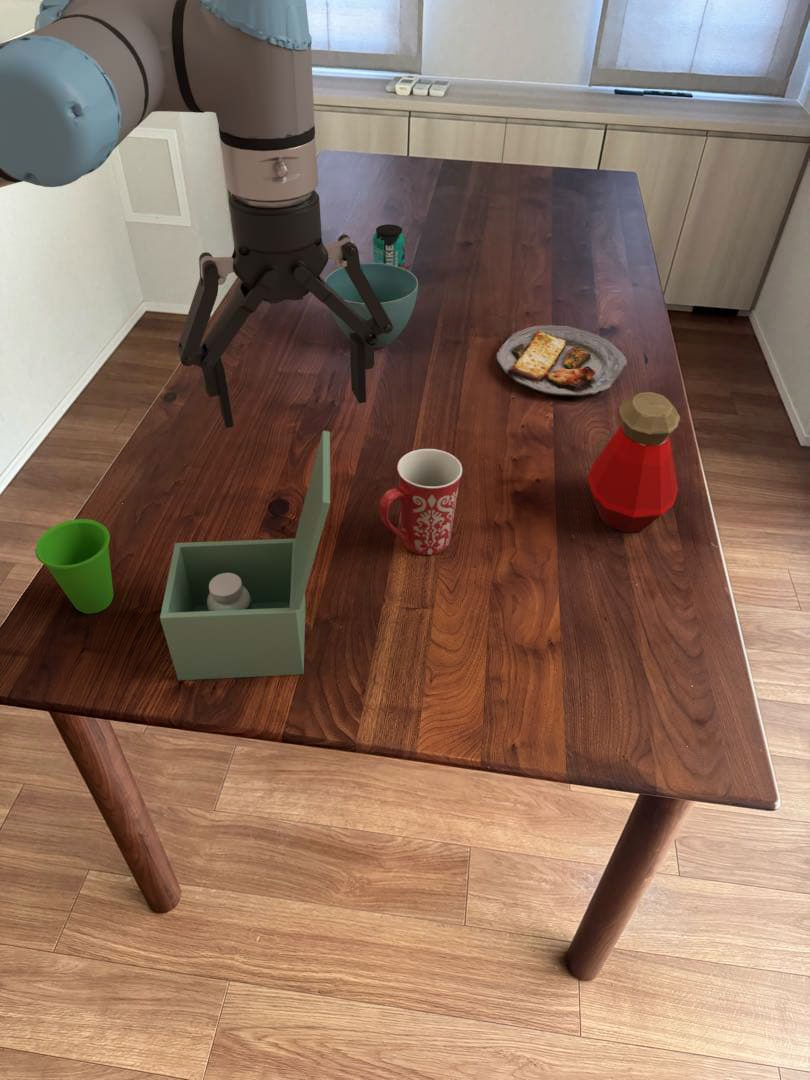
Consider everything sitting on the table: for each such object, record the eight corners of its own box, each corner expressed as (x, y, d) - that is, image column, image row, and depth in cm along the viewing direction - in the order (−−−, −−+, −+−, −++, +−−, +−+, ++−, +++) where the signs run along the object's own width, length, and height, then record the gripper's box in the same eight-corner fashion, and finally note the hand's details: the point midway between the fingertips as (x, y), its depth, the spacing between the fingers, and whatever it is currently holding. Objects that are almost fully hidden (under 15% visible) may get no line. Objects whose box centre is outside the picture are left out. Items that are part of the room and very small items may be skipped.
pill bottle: (262, 623, 105) (254, 572, 98) (247, 654, 101) (238, 603, 94) (224, 616, 106) (213, 565, 99) (208, 646, 102) (195, 595, 95)
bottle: (671, 553, 117) (709, 443, 103) (579, 540, 119) (604, 431, 105) (665, 487, 128) (699, 380, 115) (581, 476, 130) (604, 369, 116)
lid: (322, 502, 81) (330, 503, 81) (322, 430, 90) (329, 431, 90) (292, 609, 91) (299, 610, 92) (295, 535, 101) (301, 535, 101)
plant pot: (309, 336, 162) (305, 279, 154) (376, 309, 171) (376, 254, 163) (366, 372, 153) (365, 313, 144) (434, 341, 162) (437, 284, 153)
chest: (178, 680, 99) (159, 618, 91) (190, 605, 108) (174, 542, 100) (303, 674, 100) (296, 612, 92) (305, 600, 109) (299, 538, 101)
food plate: (593, 417, 143) (597, 400, 140) (477, 381, 151) (478, 364, 149) (636, 356, 159) (640, 340, 156) (529, 326, 167) (531, 310, 164)
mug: (434, 511, 123) (437, 440, 114) (468, 545, 118) (475, 473, 108) (364, 540, 118) (362, 469, 109) (396, 577, 113) (397, 505, 103)
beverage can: (409, 278, 182) (410, 226, 174) (396, 291, 178) (397, 238, 170) (381, 272, 184) (381, 220, 176) (368, 284, 180) (367, 232, 172)
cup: (54, 629, 105) (28, 570, 97) (65, 580, 111) (41, 521, 104) (125, 621, 106) (104, 563, 98) (131, 573, 112) (112, 515, 105)
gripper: (122, 226, 60) (174, 452, 74) (430, 190, 66) (422, 405, 81) (113, 192, 65) (164, 409, 80) (400, 162, 71) (398, 368, 86)
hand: (294, 408), depth 80 cm, fingers open, 13 cm apart
